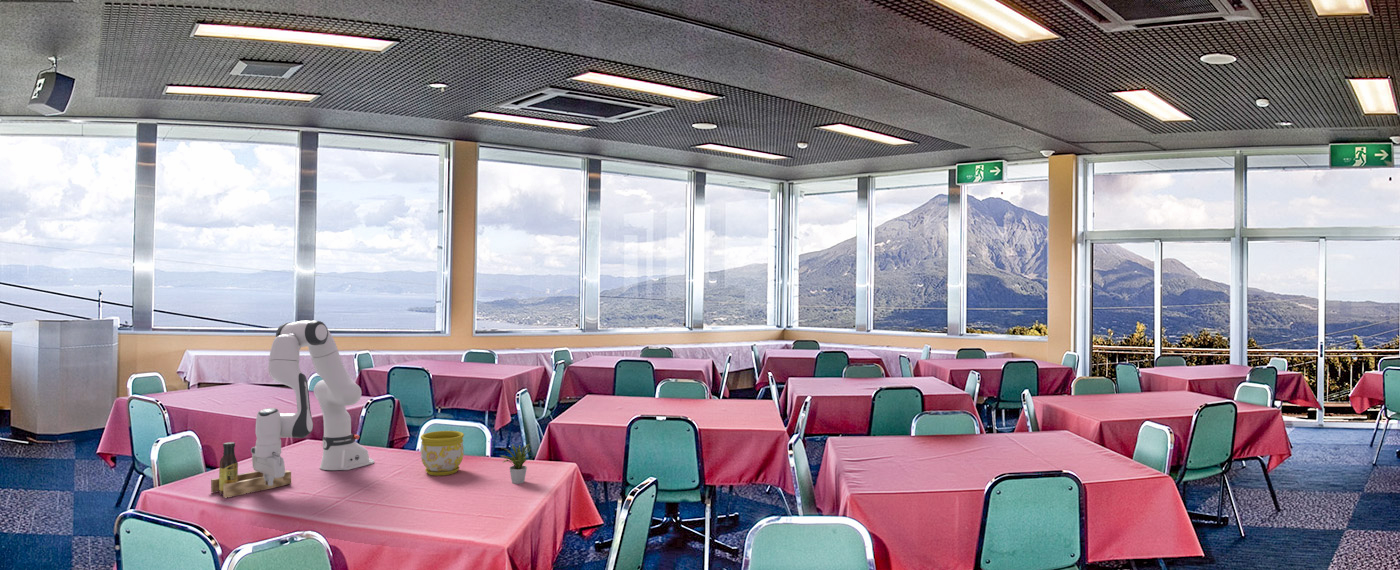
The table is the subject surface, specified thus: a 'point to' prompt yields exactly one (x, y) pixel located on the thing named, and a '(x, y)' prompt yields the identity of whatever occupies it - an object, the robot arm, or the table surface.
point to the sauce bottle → (228, 466)
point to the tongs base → (240, 478)
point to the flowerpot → (442, 452)
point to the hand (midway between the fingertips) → (269, 485)
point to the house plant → (517, 464)
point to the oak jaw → (254, 485)
